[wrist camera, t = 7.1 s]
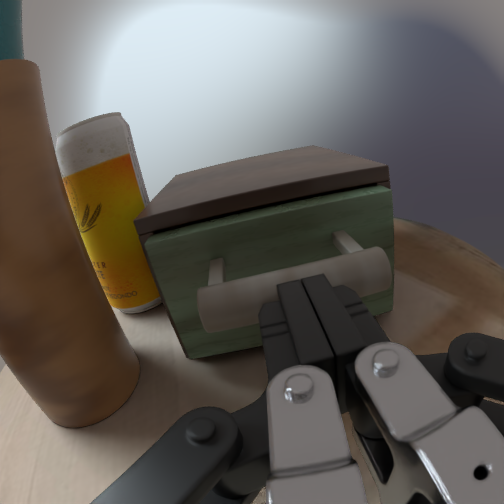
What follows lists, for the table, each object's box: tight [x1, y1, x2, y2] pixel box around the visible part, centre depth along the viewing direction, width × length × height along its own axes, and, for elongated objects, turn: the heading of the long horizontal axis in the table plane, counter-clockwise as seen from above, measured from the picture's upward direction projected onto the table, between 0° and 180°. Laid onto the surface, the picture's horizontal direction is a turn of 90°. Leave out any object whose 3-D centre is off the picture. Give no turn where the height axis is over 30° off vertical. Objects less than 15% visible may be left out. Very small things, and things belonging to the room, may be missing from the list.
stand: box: [0, 59, 140, 428], centre depth 12 cm, size 8×8×18 cm
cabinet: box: [133, 146, 391, 358], centre depth 22 cm, size 14×13×9 cm
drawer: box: [144, 185, 394, 359], centre depth 18 cm, size 17×11×7 cm
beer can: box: [55, 112, 162, 314], centre depth 22 cm, size 6×6×15 cm
